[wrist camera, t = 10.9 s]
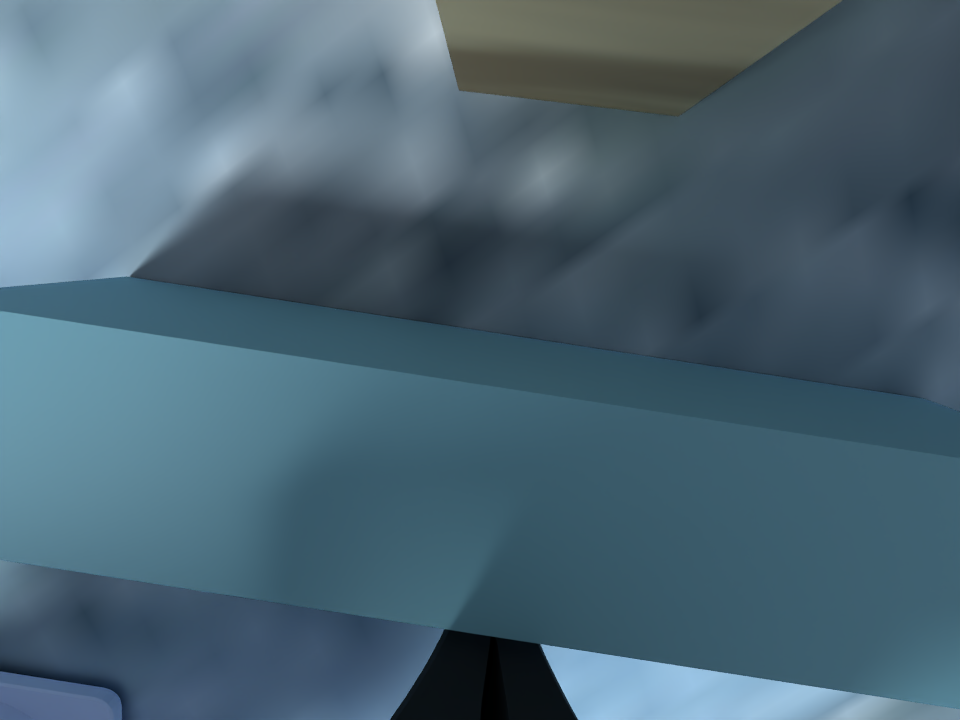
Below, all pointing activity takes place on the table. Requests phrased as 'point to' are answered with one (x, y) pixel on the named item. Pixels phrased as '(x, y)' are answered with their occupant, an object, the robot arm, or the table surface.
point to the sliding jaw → (483, 484)
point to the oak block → (615, 47)
